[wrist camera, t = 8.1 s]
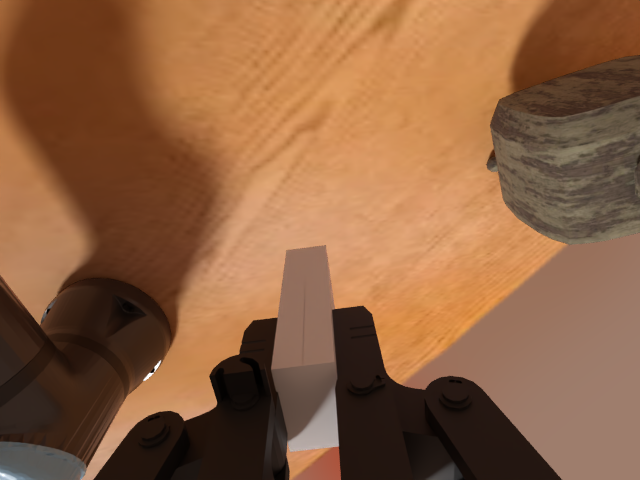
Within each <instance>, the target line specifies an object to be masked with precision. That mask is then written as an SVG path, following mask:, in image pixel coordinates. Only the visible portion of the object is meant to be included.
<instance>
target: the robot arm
mask: <svg viewBox="0 0 640 480" xmlns="http://www.w3.org/2000/svg"><path fill="white" fill-rule="evenodd" d="M170 343H171V331H170V326H169V323H168V320H167V318H166V316H165V314H164V313H163V311H162V310H161V308H160V307H159V306H158V305H157V303H156V302H155V301H154V300H152V299H151V298H150V297H149V296H148V295H147V294H145V293H144V292H142V291H141V290H139V289H137V288H135V287H133V286H131V285H129V284H126V283H124V282H121V281H117V280H112V279H104V278H93V279H86V280H82V281H79V282H76V283H74V284H72V285H70V286H68V287H67V288H65V289H64V290H63V291H62V292H61V293H60V294H59V295H58V296H57V297H55V298H54V299H53V300H52V301H51V303H50V304H49V305H48V307H47V308H46V310H45V312H44V314H43V317H42V320H41V325H40V326H39V324H38V323H37V322H36V321H35V319H34V318H33V317H32V315H31V314H30V313H29V312H28V310H27V309H26V308H25V306H24V305H23V304H22V303H21V301H20V300H19V299H18V297H17V296H16V295H15V294H14V292H13V291H12V290H11V288H10V287H9V286H8V285H7V283H6V282H5V281H4V279H3V278H2V277H1V276H0V480H81V479H82V478H83V476H84V475H85V472H86V469H87V467H88V465H89V463H90V461H91V460H92V458H93V456H94V454H95V452H96V450H97V449H98V447H99V445H100V443H101V441H102V440H103V438H104V436H105V434H106V432H107V431H108V429H109V427H110V425H111V423H112V422H113V420H114V418H115V416H116V414H117V413H118V411H119V409H120V407H121V405H122V404H123V402H124V400H125V399H126V397H127V395H129V394H130V393H131V392H132V391H133V390H135V389H136V388H137V387H138V386H139V385H140V384H141V383H142V382H143V381H145V380H146V379H148V378H149V377H150V376H151V375H153V374H154V373H155V372H156V370H157V369H158V368H159V367H160V365H161V364H162V362H163V360H164V358H165V356H166V354H167V352H168V350H169V347H170ZM209 377H210V380H211V383H212V386H213V390H214V393H215V396H216V399H217V406H216V407H215V408H214V409H212V410H211V411H209V412H207V413H204V414H202V415H200V416H197V417H194V418H192V419H189V420H186V421H184V420H183V418H182V417H181V416H180V415H179V414H178V413H175V412H172V411H164V412H158V413H155V414H152V415H150V416H148V417H146V418H144V419H143V420H141V421H140V422H138V423H137V424H136V425H135V426H134V427H133V428H132V429H131V430H130V431H129V433H128V434H127V435H126V437H125V438H124V439H123V441H122V442H121V443H120V445H119V446H118V448H117V449H116V450H115V452H114V453H113V454H112V456H111V457H110V458H109V460H108V461H107V462H106V464H105V465H104V466H103V468H102V469H101V470H100V472H99V473H98V474H97V476H96V477H95V478H94V480H289V472H290V471H289V465H288V461H287V456H286V453H287V441H288V445H289V449H290V452H293V451H302V450H310V449H319V448H328V447H337V446H339V454H340V469H341V480H561V478H560V477H559V476H558V475H557V474H556V472H555V471H554V470H553V469H552V468H551V467H550V466H549V465H548V463H547V462H546V461H545V460H544V459H543V458H542V457H541V455H540V454H539V453H538V452H537V451H536V450H535V449H534V447H533V446H532V445H531V444H530V443H529V442H528V441H527V440H526V438H525V437H524V436H523V435H522V434H521V433H520V432H519V431H518V429H517V428H516V427H515V426H514V425H513V424H512V423H511V422H510V420H509V419H508V418H507V417H506V416H505V415H504V413H503V412H502V411H501V410H500V409H499V408H498V407H497V406H496V404H495V403H494V402H493V401H492V400H491V399H490V398H489V396H488V395H487V394H486V393H485V392H484V391H483V390H482V389H481V388H480V387H479V386H478V385H476V384H475V383H474V382H472V381H470V380H467V379H465V378H462V377H454V376H448V377H441V378H438V379H436V380H434V381H432V382H431V383H430V384H429V385H428V387H427V388H426V390H422V389H414V388H409V387H405V386H403V385H400V384H398V383H396V382H395V381H394V380H392V379H391V378H390V377H389V376H388V374H387V373H386V370H385V368H384V364H383V359H382V355H381V351H380V347H379V342H378V338H377V334H376V329H375V326H374V321H373V317H372V314H371V313H370V312H369V311H368V310H367V309H366V308H365V307H364V306H357V307H349V308H341V309H335V306H334V299H333V292H332V285H331V278H330V271H329V264H328V257H327V250H326V245H324V246H316V247H309V248H301V249H293V250H286V258H285V265H284V273H283V281H282V289H281V296H280V304H279V312H278V318H270V319H262V320H254V321H253V322H252V323H251V324H250V325H249V326H248V328H247V329H246V330H245V331H244V335H243V339H242V345H241V347H240V354H239V355H236V356H232V357H229V358H227V359H225V360H223V361H222V362H220V363H219V364H218V365H217V366H216V367H215V368H214V369H213V370H212V372H211V374H210V376H209Z"/></svg>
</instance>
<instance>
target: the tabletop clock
mask: <svg viewBox="0 0 640 480" xmlns="http://www.w3.org/2000/svg"><path fill="white" fill-rule="evenodd" d="M490 128H491V133H492V139H493V145H494V150H495V156H496V157H491V158H490V159H489V160H488V162H487V164H486V165H487V168H488V170H490V171H491V172H497V171H498V173H499V179H500V185H501V190H502V196H503V200H504V202H505V204H506V206H507V207H508V208H509V209H510V210H511V211H512V212H513V213H514V215H515V216H516V217H517V218H518V219H520V220H521V221H522V222H524V223H525V224H527V225H528V226H530V227H531V228H533V229H534V230H536V231H537V232H539V233H541V234H543V235H545V236H547V237H549V238H551V239H553V240H556V241H560V242H563V243H566V244H570V245H572V244H583V243H594V242H600V241H605V240H610V239H615V238H619V237H623V236H627V235H632V234H636V233H640V55H636V56H628V57H623V58H619V59H615V60H611V61H608V62H604V63H601V64H598V65H595V66H592V67H589V68H586V69H583V70H580V71H577V72H574V73H571V74H567V75H564V76H561V77H558V78H555V79H553V80H550V81H547V82H544V83H541V84H538V85H536V86H533V87H530V88H527V89H524V90H521V91H519V92H516V93H513V94H511V95H508V96H506V97H504V98H502V99H500V100H499V102H498V104H497V107H496V110H495V112H494V115H493V117H492V120H491V124H490Z"/></svg>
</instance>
